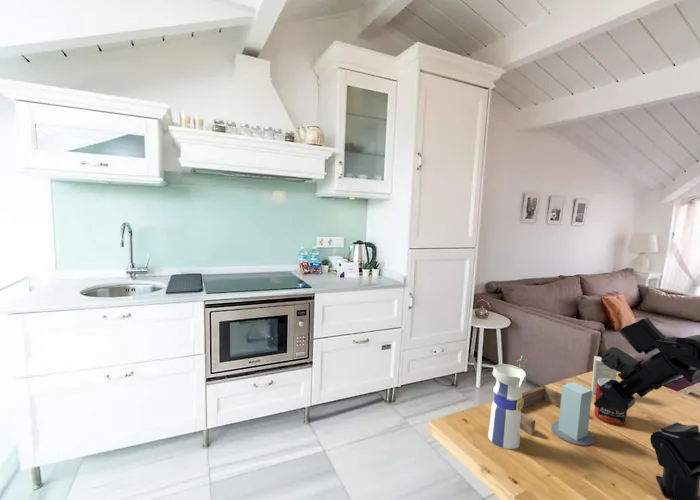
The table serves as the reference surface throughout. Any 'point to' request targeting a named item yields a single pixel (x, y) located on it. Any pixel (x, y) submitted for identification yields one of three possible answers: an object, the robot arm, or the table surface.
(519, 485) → the table surface
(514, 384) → the blue striped jug
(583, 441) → the coaster
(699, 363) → the robot arm
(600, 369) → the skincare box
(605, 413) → the canned food
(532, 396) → the u-shaped wooden frame
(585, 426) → the block
